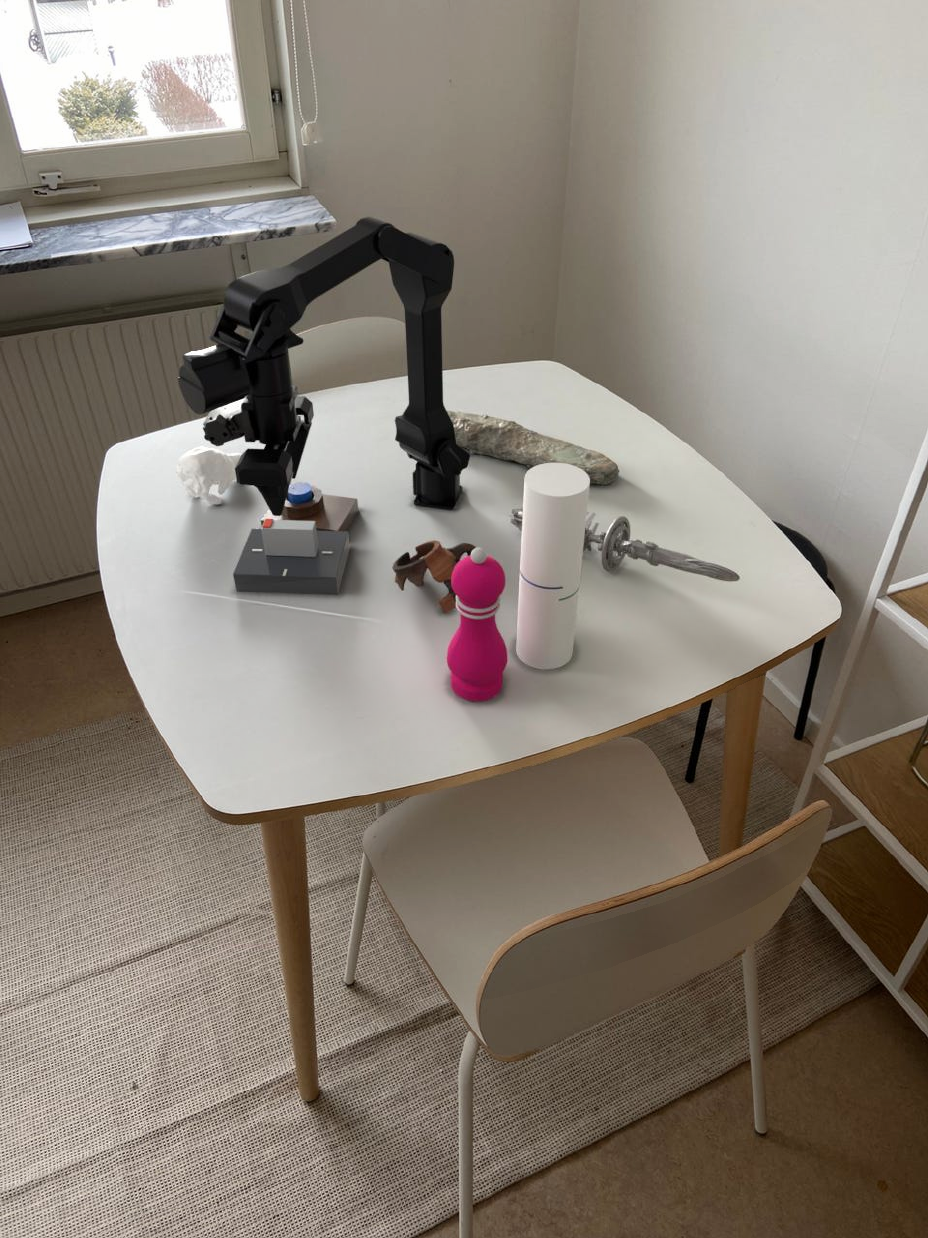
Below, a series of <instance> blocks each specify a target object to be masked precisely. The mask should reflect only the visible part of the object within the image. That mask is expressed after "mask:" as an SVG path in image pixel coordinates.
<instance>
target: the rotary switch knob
mask: <svg viewBox="0 0 928 1238" xmlns="http://www.w3.org/2000/svg"><path fill="white" fill-rule="evenodd" d="M260 529H261V530H262V536H263V542H264V548H265V554H266V555H272V556H302V557H316V555H317V551H318V548H319V547H318V539H317V530H316V522H315V521H296V520H273V519H265V520H264V523H263V525H262V526H261V528H260Z"/></svg>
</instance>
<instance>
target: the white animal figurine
mask: <svg viewBox="0 0 928 1238" xmlns="http://www.w3.org/2000/svg"><path fill="white" fill-rule="evenodd" d="M241 455H242V454H241V453H237V452H234V453H225V452H223V451H220V450H219V449H216V448H211V447H206V446H199V447H195V448H193V449H190V450H189V451H187V452H186V453H185V454H183V455H182V456H180V458H179V459H178V463H177V467H176V470H175V473H176V475H177V476H178V478H179V481H180V484H181V485H182V486H183V488H184V490H185V492H186V493H187V494H188V495H190V496H191V497H192V498H196V499H197V498H200V499H202V500H203V501H205V502H206V503H208V504H210V505H216V506H217V505H221V504H222V502H223V501H222V500H221V498H220V497H218V496H217V495H215V494H214V493H210V489H211V487H212V486H214V485H215V486H216V485H218V487H217V492H218V494H219V495H223V494H224V493H225V492H226V490H227V489H228V488H229V487H230V485H231V483H232V482H233V481H234V482H237V479H236V473H235V467H236V465H237V463H238V461H239V459H240V457H241Z"/></svg>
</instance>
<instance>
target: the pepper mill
mask: <svg viewBox="0 0 928 1238" xmlns="http://www.w3.org/2000/svg"><path fill="white" fill-rule="evenodd" d="M451 584H452V588H453V591H454V593H455V594H456V608H455V609H456V610H457V612H458V613H459V616H460V617H459V620H460V621H459V624H458V627H457V629H456V631H455V633H454V634H453V635H452V637H451V639H450V641H449V644H448V647H447V651H446V652H447V653H446V664H447V667H448V669H449V670H450V686H451V689H452V691H453V692H454V694H456V695H457V696H458V697H459V698H461V699H463V700H466V701H469V702H478V703H479V702H485V701H489V700H491V699H493V698H494V697H496V696H498V695H499V693H500V692H501V690H502V688H503V679H504V678H503V677H504V673H503V672H504V671H505V669H506V668H507V665H508V658H509V657H508V649H507V646H506V643H505V640H504V638H503V636H502V635H501V633H500V630H499V629H498V625H497V622H496V614H497V613H498V612H499V611H500V608H501V595H502V594H503V591H504V590H505V587H506V574H505V570H504V568H503V566H502V565H501V563H500V562H499V561H497V559H495V557H492V556H489V555H488V553H487V551H486V550H485V549H484V548H483V547H476V548H475V549H474V550H472V552H471V555H470V556H468V555H467V556H465V557H463V558H461V559H460V561H459V562H458V563H457V564H456V566H455V567H454V570H453V572H452V577H451Z"/></svg>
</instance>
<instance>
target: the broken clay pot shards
mask: <svg viewBox="0 0 928 1238" xmlns="http://www.w3.org/2000/svg"><path fill="white" fill-rule="evenodd" d="M475 548H477V547H476V546H475V545H474V544H472V543H468V542H462V543H458V544H456V545H455V546H453V547H448V548H446V547H443V546H442V543H441V542H440V540H434V539H433V540H430V541H426V542H423V543H421V544H418V545H417V546H415V547H414V549H415V552H416V554H414V555H413V556H412V557H411V555H410V552H409V551H406V552H405V553H403V554H402V555H401V556H399V557H398V558H397V559H396V560H395V561H394V562H393V564H392V567H391V568H392V570H393V572H394V573H395V576H394V582H395V583H396V584H397V585H398V588H399V589H400V590H401V591H404V590H405V584H406V581H408V582H409V583H412V584H413V585H414V586H415V587H424V586H425V583H424V582H425V581H424V578H425V574H426V571H427V569H428V571H429V573H430V574H431V577H432V579H433V580H434V581H435V582H436V583H443V584H444V586H445V587H446V588H447V590H448V593H446V594H445V595H444V596H442V597H440V598H439V599H438V600H437V604H438V605H439V607H440V609H441V611H442V613H443V614H448V613H449V612H451V611H453V610H455V609H457V608H456V594H455V593H454V591H453V588H452V584H451V577H452V572H453V570H454V567H455V566H456V564H457V563H458V562H459V561H460V560H462V556H464V554H465V553H466V554H467V556H470V555H471V552H472V550H474V549H475Z"/></svg>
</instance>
